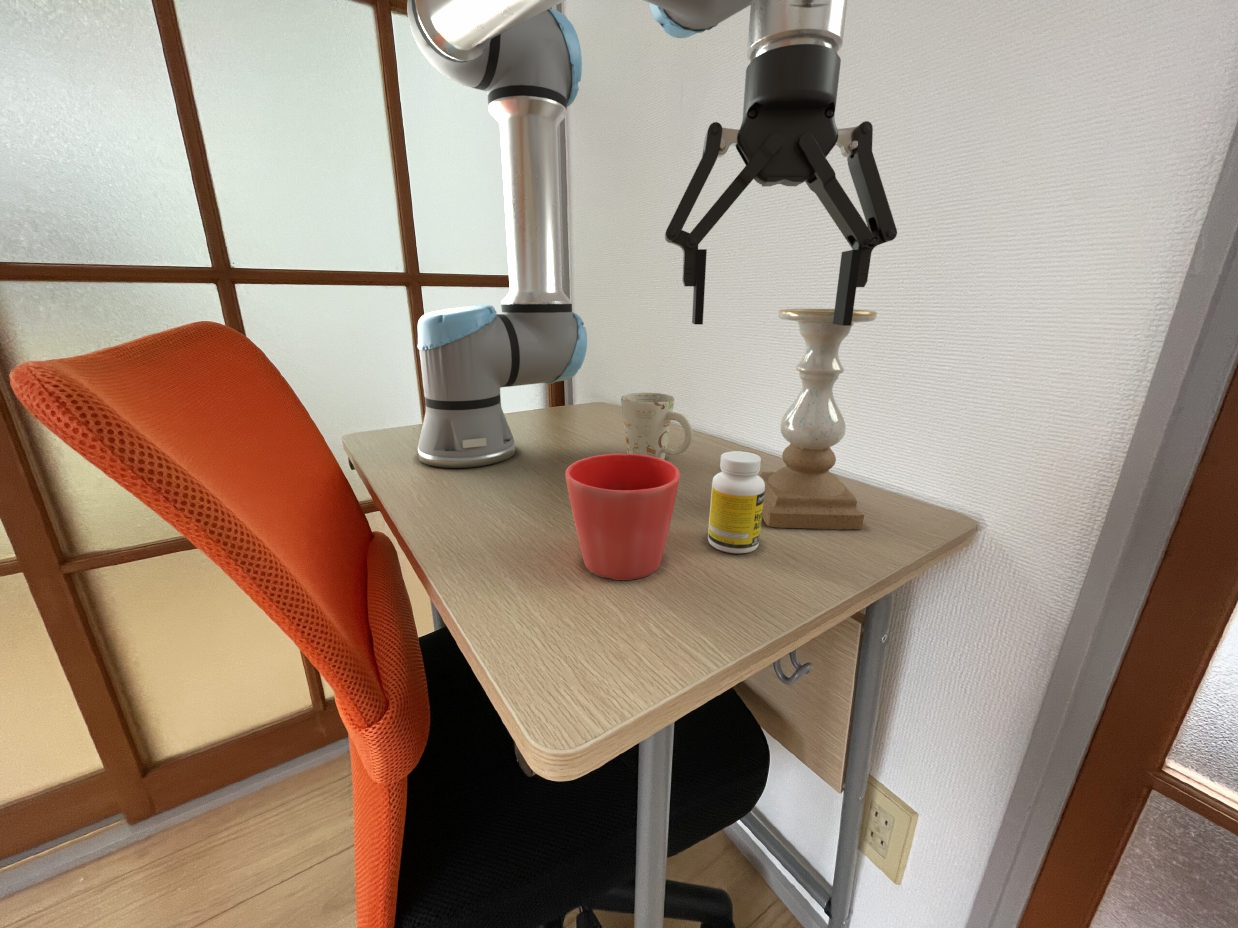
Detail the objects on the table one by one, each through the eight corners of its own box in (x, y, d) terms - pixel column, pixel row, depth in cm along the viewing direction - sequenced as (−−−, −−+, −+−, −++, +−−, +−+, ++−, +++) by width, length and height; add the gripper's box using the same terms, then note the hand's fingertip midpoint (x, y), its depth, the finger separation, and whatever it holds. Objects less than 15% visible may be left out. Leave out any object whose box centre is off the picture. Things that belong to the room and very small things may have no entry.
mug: (639, 448, 91) (640, 390, 88) (704, 461, 84) (708, 399, 81) (610, 459, 85) (610, 398, 82) (678, 475, 78) (681, 408, 75)
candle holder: (767, 527, 60) (789, 311, 53) (749, 493, 71) (765, 308, 63) (864, 529, 60) (900, 312, 53) (831, 494, 70) (858, 308, 63)
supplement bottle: (760, 557, 54) (769, 466, 51) (706, 552, 55) (712, 462, 52) (757, 535, 59) (766, 450, 56) (708, 530, 60) (714, 447, 57)
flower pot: (597, 602, 46) (596, 498, 43) (552, 549, 55) (549, 461, 52) (697, 574, 50) (703, 478, 47) (640, 530, 60) (642, 447, 57)
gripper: (642, 40, 40) (637, 325, 47) (974, 36, 40) (923, 327, 46) (642, 78, 48) (638, 321, 54) (923, 75, 47) (885, 323, 53)
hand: (769, 324), depth 50 cm, fingers open, 13 cm apart
